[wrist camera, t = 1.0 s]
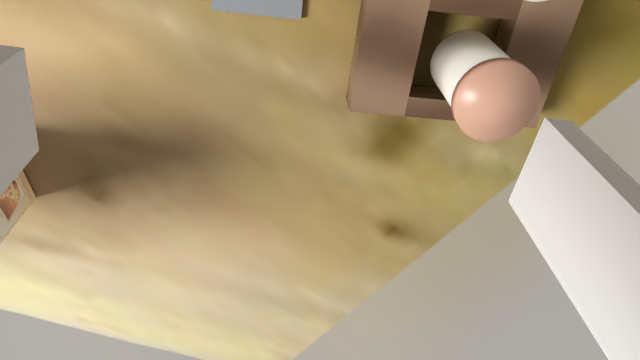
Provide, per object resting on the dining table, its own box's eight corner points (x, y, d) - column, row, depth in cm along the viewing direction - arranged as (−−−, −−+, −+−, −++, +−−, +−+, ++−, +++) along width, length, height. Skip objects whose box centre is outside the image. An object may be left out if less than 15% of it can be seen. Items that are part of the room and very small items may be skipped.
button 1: (436, 23, 33) (468, 58, 27) (507, 30, 33) (553, 66, 28) (420, 92, 35) (445, 138, 30) (486, 98, 36) (524, 144, 30)
